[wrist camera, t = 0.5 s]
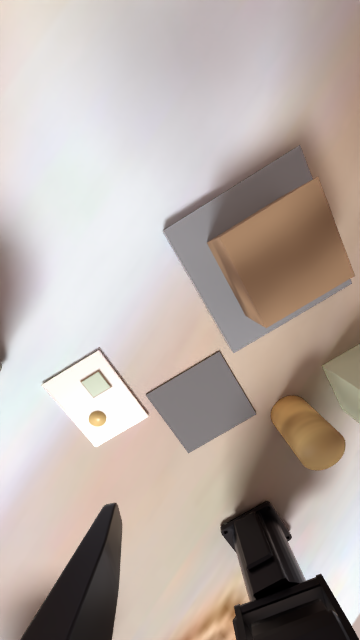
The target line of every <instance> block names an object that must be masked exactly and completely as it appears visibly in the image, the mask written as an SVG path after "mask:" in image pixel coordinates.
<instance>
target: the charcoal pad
mask: <svg viewBox="0 0 360 640" xmlns="http://www.w3.org/2000/svg"><path fill="white" fill-rule="evenodd" d="M146 396H147V397H148V399H149V400H150V402H151V403H152V404H153V406H154V407H155V408H156V410H157V411H158V412H159V414H160V415H161V416H162V418H163V419H164V421H165V422H166V423H167V425H168V426H169V427H170V429H171V430H172V431H173V433H174V434H175V436H176V437H177V438H178V440H179V441H180V442H181V444H182V445H183V446H184V448H185V449H186V450H187V452H188V453H190V452H192V451H193V450H195V449H197V448H199V447H200V446H202V445H204V444H205V443H207V442H209V441H211V440H212V439H214V438H216V437H218V436H219V435H221V434H223V433H225V432H226V431H228V430H230V429H232V428H233V427H235V426H237V425H239V424H240V423H242V422H244V421H246V420H247V419H249V418H251V417H253V416H254V415H256V413H255V411H254V409H253V408H252V406H251V404H250V403H249V401H248V399H247V397H246V396H245V394H244V392H243V391H242V389H241V387H240V386H239V384H238V382H237V381H236V379H235V377H234V376H233V374H232V372H231V370H230V369H229V367H228V365H227V364H226V362H225V360H224V359H223V357H222V355H221V354H220V352H217V353H215V354H214V355H212V356H210V357H209V358H207V359H205V360H204V361H202V362H200V363H199V364H197V365H195V366H193V367H192V368H190V369H188V370H187V371H185V372H183V373H182V374H180V375H178V376H177V377H175V378H173V379H171V380H170V381H168V382H166V383H165V384H163V385H161V386H160V387H158V388H156V389H155V390H153V391H151V392H150V393H148V394H146Z"/></svg>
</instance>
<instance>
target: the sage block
mask: <svg viewBox="0 0 360 640" xmlns="http://www.w3.org/2000/svg"><path fill="white" fill-rule="evenodd" d="M322 368H323V370H324V372H325V374H326V376H327V378H328V380H329V383H330V385H331V387H332V389H333V391H334V393H335V395H336V398H337V400H338V402H339V404H340V406H341V408H342V410H343V411H344V412H346V413H347V414H348V415H349V416H351V417H352V418H353V419H354V420H356V421H357V422H358V423H359V424H360V344H358V345H357V346H355V347H353V348H352V349H350V350H348V351H346V352H345V353H343V354H341V355H339V356H338V357H336V358H334V359H333V360H331V361H329V362H327V363H326V364H324V365H322Z"/></svg>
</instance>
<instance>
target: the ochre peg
mask: <svg viewBox="0 0 360 640" xmlns="http://www.w3.org/2000/svg"><path fill="white" fill-rule="evenodd" d="M271 420H272V422H273V424H274V425H275V427H276V428H277V430H278V431H279V432H280V434H281V435H282V436H283V438H284V439H285V441H286V442H287V443H288V445H289V446H290V448H291V449H292V450H293V452H294V453H295V455H296V456H297V457H298V459H299V460H300V461H301V463H302V464H303V465H304V466H305V467H306V468H308V469H311V470H324V469H327V468H329V467H331V466H333V465H334V464H336V463H337V462H338V461H339V460H340V459H341V457H342V456H343V454H344V451H345V440H344V438H343V436H342V435H341V434H340V433H339V432H338V431H337V430H336V429H335V428H334V427H333V426H332V425H330V424H329V423H328V422H327V421H326V420H325V419H324V418H323V417H322V416H321V415H320V414H319V413H318V412H317V411H315V410H314V409H313V408H312V407H311V406H310V405H309V404H308V403H307V402H306V401H305V400H304V399H302V398H301V397H299V396H286V397H284V398H282V399H280V400H279V401H278V402H277V403H276V404H275V405H274V406H273V408H272V411H271Z"/></svg>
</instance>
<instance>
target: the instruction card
mask: <svg viewBox="0 0 360 640" xmlns="http://www.w3.org/2000/svg"><path fill="white" fill-rule="evenodd" d="M42 386H43V388H44V389H45V390H46V391H47V392H48V393H49V394H50V396H51V397H52V398H53V399H54V400H55V401H56V402H57V404H58V405H59V406H60V407H61V408H62V409H63V410H64V412H65V413H66V414H67V415H68V416H69V417H70V418H71V420H72V421H73V422H74V423H75V424H76V425H77V427H78V428H79V429H80V430H81V431H82V432H83V433H84V435H85V436H86V437H87V438H88V439H89V440H90V441H91V443H92V444H93V445H94V446H95V447H97V446H99V445H101V444H102V443H104V442H106V441H108V440H109V439H111V438H113V437H114V436H116V435H118V434H119V433H121V432H123V431H125V430H126V429H128V428H130V427H131V426H133V425H135V424H137V423H138V422H140V421H142V420H143V419H145V418H147V417H148V414H147V413H146V411H145V410H144V409H143V407H142V406H141V405H140V403H139V402H138V401H137V399H136V398H135V397H134V395H133V394H132V393H131V391H130V390H129V389H128V387H127V386H126V385H125V383H124V382H123V381H122V379H121V378H120V377H119V375H118V374H117V373H116V371H115V370H114V369H113V368H112V366H111V365H110V364H109V362H108V361H107V360H106V358H105V357H104V356H103V354H102V353H101V352H100V350H98V351H96V352H94V353H93V354H91V355H89V356H88V357H86V358H85V359H83V360H81V361H80V362H78V363H76V364H75V365H73V366H71V367H70V368H68V369H66V370H65V371H63V372H62V373H60V374H58V375H57V376H55V377H53V378H52V379H50V380H48V381H47V382H45V383H43V384H42Z"/></svg>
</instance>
